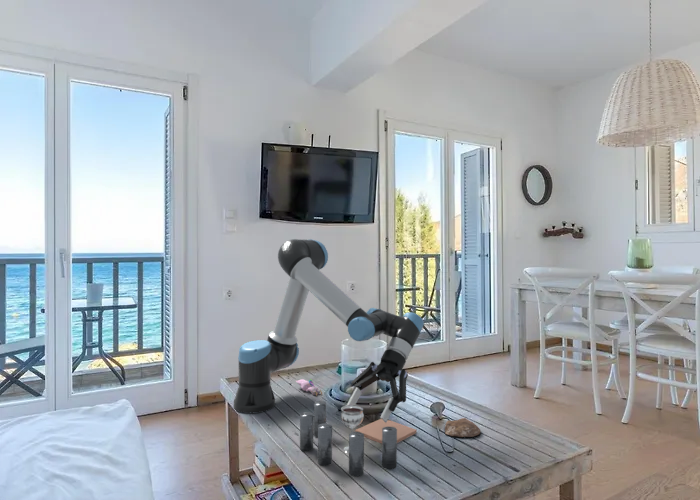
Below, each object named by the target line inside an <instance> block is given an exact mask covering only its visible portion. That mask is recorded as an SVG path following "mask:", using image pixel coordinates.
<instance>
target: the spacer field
mask: <svg viewBox="0 0 700 500" xmlns="http://www.w3.org/2000/svg"><path fill="white" fill-rule="evenodd" d="M299 422H300V423H299V450H301V452H311V451H313V450H314V437H315V438H317V464H318V465H320V466H322V467H327V466H329V465H332V464H333V424H331V423H327V402H326V401H322V400H321V401H315V402H313V412H311V411H305V412H301V413H300V414H299ZM348 446H349V453H348V474H349V476H350V477H351V476H352V477H357V478H358V477H361V476H363V475H364V473H365V468H364V467H365V437H364V434H363V433H361V432H355V431H353V432H352V433H351V432H350V433H349V434H348ZM397 451H398V443H397V429H396V428H395V427H389V426H388V427H384V428H383V429H382V444H381V467H382V468H383V469H386V470H394V469H397V466H398V465H397V462H398V460H397V458H398V455H397V454H398V453H397Z"/></svg>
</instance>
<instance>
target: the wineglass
mask: <svg viewBox="0 0 700 500" xmlns="http://www.w3.org/2000/svg"><path fill="white" fill-rule="evenodd" d="M340 410H341V413H340V419H341V421H342V423H343V424H344V425H345V426H347V427H349V428H350V433H352V432H354V429H355V428H356V427H358V426H360V425H361V423H362V422H363V420H364V417H365V415H364V407H363V406H361V405H358V404H355V405H347V404H346V405H343V406H342V407H341V408H340ZM343 451H344V452H345V453H347V454H349V445H347V446H345V447H344V448H343Z"/></svg>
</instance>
